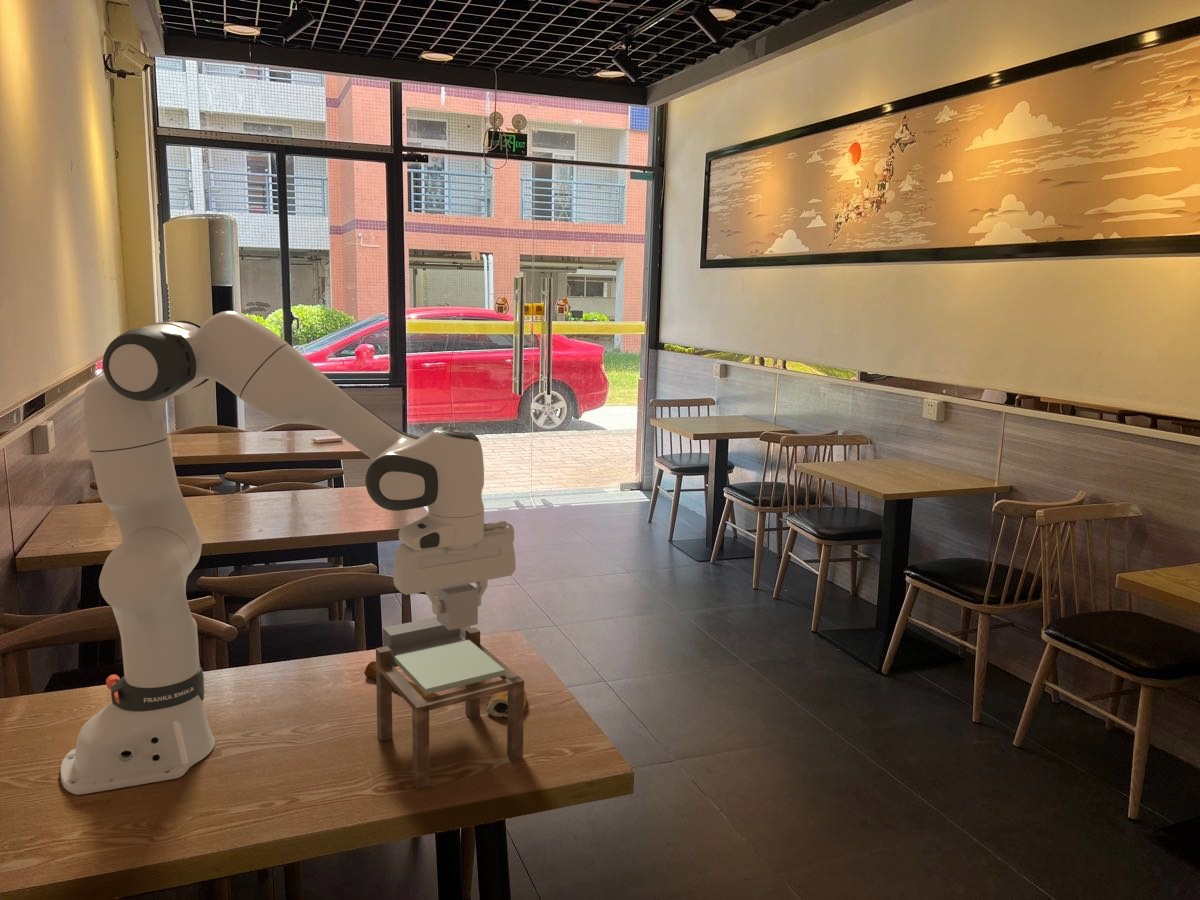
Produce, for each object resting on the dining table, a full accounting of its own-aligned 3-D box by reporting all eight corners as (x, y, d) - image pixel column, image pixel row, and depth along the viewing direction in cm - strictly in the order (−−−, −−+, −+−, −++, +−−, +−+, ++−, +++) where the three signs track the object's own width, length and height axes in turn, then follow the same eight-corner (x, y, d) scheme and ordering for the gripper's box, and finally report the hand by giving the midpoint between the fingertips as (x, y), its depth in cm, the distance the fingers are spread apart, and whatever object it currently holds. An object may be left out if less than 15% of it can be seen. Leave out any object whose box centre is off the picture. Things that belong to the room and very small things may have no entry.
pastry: (500, 693, 169) (501, 675, 169) (534, 698, 168) (534, 680, 167) (484, 716, 160) (484, 697, 160) (519, 721, 159) (520, 702, 158)
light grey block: (436, 619, 142) (436, 585, 141) (464, 614, 145) (464, 580, 144) (449, 630, 138) (448, 594, 137) (477, 624, 141) (477, 589, 140)
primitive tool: (445, 700, 166) (445, 683, 166) (424, 712, 162) (424, 694, 161) (376, 673, 177) (376, 657, 176) (355, 683, 172) (354, 667, 172)
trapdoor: (425, 709, 137) (425, 674, 136) (380, 659, 155) (380, 628, 153) (504, 689, 145) (504, 655, 144) (453, 643, 162) (453, 613, 161)
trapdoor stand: (417, 789, 136) (416, 692, 133) (377, 736, 152) (375, 648, 149) (522, 757, 147) (524, 666, 143) (475, 710, 162) (475, 627, 159)
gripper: (505, 515, 147) (504, 592, 150) (388, 531, 136) (390, 614, 138) (522, 524, 142) (522, 604, 144) (403, 542, 131) (405, 628, 133)
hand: (456, 609), depth 141 cm, fingers closed on light grey block, 5 cm apart
